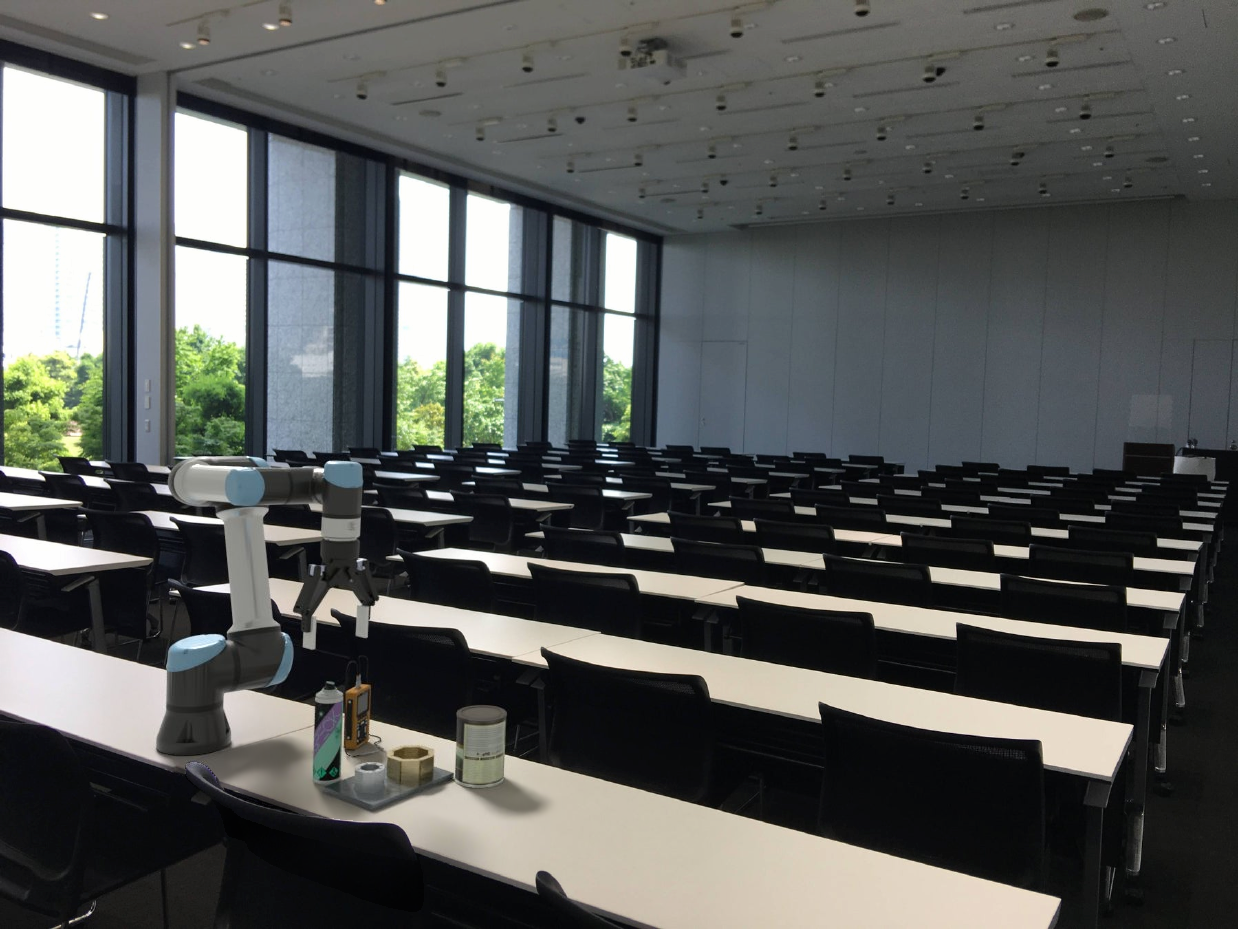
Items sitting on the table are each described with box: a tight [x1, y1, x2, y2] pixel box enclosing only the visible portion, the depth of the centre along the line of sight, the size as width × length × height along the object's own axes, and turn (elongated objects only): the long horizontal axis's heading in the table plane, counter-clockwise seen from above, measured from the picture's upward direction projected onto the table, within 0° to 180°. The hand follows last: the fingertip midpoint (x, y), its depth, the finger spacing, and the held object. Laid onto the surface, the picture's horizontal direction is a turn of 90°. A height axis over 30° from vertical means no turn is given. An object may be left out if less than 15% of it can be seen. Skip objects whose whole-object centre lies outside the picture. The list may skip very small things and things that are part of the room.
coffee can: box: [453, 704, 508, 789], centre depth 201 cm, size 10×10×14 cm
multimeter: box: [342, 655, 387, 758], centre depth 217 cm, size 15×10×20 cm
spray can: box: [312, 680, 344, 785], centre depth 197 cm, size 6×6×20 cm
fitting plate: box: [322, 744, 455, 812], centre depth 195 cm, size 14×22×5 cm, turn 146°
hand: (336, 642), depth 196 cm, fingers open, 13 cm apart
